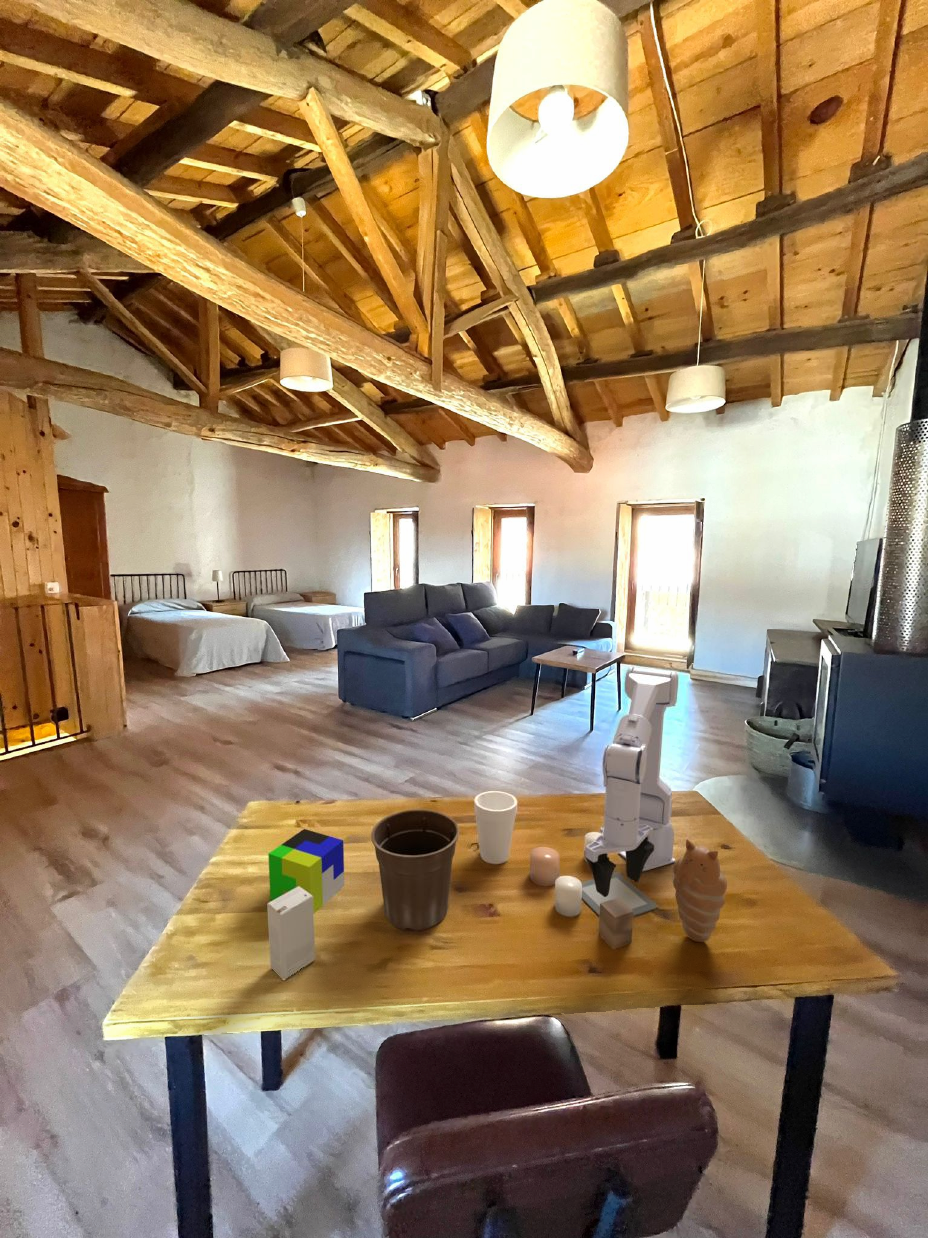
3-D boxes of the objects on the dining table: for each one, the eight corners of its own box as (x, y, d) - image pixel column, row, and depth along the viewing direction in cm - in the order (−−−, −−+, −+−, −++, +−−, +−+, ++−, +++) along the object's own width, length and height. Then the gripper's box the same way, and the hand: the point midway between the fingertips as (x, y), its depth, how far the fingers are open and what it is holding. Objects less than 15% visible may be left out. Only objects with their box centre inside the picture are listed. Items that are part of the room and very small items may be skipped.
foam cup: (513, 871, 115) (514, 813, 113) (470, 865, 117) (471, 808, 115) (517, 846, 124) (519, 793, 122) (478, 841, 126) (478, 789, 124)
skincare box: (301, 948, 93) (299, 883, 91) (316, 961, 90) (314, 894, 88) (268, 969, 88) (265, 901, 86) (283, 984, 85) (280, 914, 83)
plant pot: (412, 955, 91) (411, 867, 89) (355, 911, 102) (353, 831, 100) (475, 908, 103) (477, 829, 101) (418, 873, 114) (418, 801, 112)
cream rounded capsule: (570, 896, 107) (571, 873, 106) (586, 912, 102) (587, 887, 102) (549, 903, 105) (550, 880, 104) (565, 920, 100) (565, 895, 100)
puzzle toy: (344, 886, 109) (343, 840, 108) (311, 916, 101) (309, 867, 99) (305, 873, 114) (304, 828, 112) (270, 901, 105) (268, 853, 103)
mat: (617, 873, 115) (617, 871, 114) (658, 908, 104) (658, 906, 104) (570, 887, 110) (570, 885, 110) (608, 925, 99) (608, 923, 99)
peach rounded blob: (548, 865, 117) (548, 844, 116) (564, 881, 112) (565, 858, 111) (524, 873, 114) (524, 851, 114) (540, 889, 109) (540, 866, 108)
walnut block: (616, 927, 98) (618, 897, 97) (631, 942, 95) (633, 911, 94) (598, 934, 97) (600, 903, 96) (613, 949, 93) (615, 917, 92)
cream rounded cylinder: (598, 850, 123) (599, 830, 122) (612, 863, 118) (613, 841, 117) (579, 855, 121) (580, 834, 120) (592, 868, 116) (593, 846, 116)
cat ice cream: (662, 938, 96) (668, 843, 93) (680, 916, 101) (686, 827, 99) (713, 965, 90) (722, 865, 87) (730, 941, 95) (738, 846, 93)
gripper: (632, 793, 100) (628, 862, 101) (573, 813, 92) (570, 887, 94) (664, 810, 94) (659, 882, 95) (604, 832, 86) (600, 910, 88)
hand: (617, 886), depth 94 cm, fingers open, 7 cm apart
